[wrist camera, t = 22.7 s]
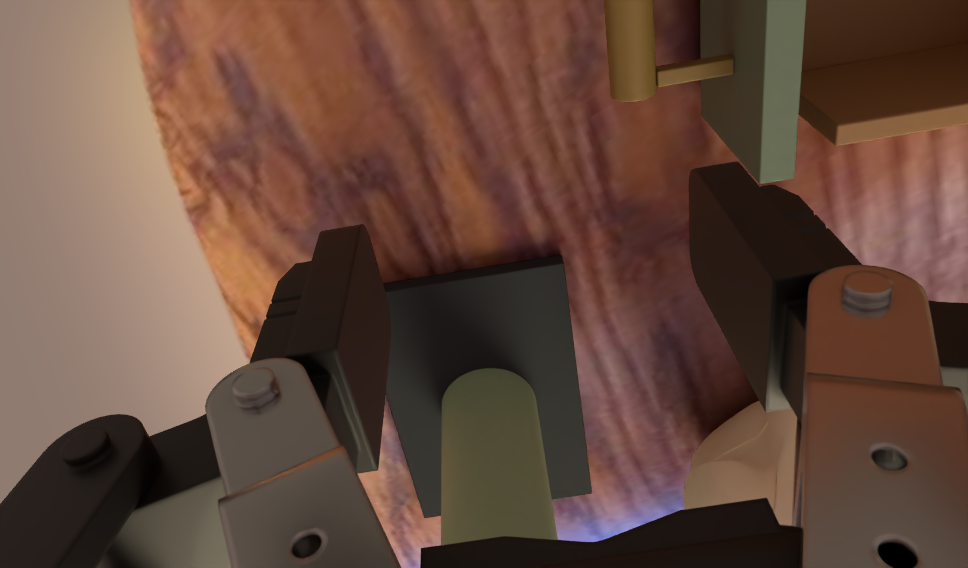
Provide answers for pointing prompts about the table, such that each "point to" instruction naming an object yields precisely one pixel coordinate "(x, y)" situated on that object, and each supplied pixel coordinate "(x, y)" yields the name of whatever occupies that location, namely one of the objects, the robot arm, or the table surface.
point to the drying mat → (485, 362)
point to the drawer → (804, 70)
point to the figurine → (746, 462)
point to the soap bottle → (493, 460)
